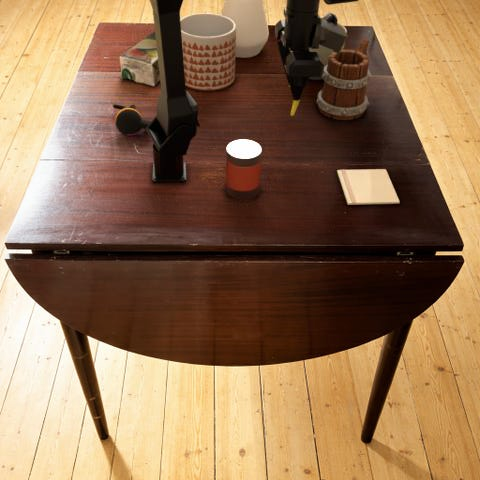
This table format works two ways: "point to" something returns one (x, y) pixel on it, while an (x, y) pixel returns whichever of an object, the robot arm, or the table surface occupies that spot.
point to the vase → (208, 51)
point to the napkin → (367, 187)
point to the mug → (345, 84)
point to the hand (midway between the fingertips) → (293, 91)
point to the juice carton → (142, 62)
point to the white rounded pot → (247, 25)
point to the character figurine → (129, 120)
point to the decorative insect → (294, 106)
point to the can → (243, 169)
